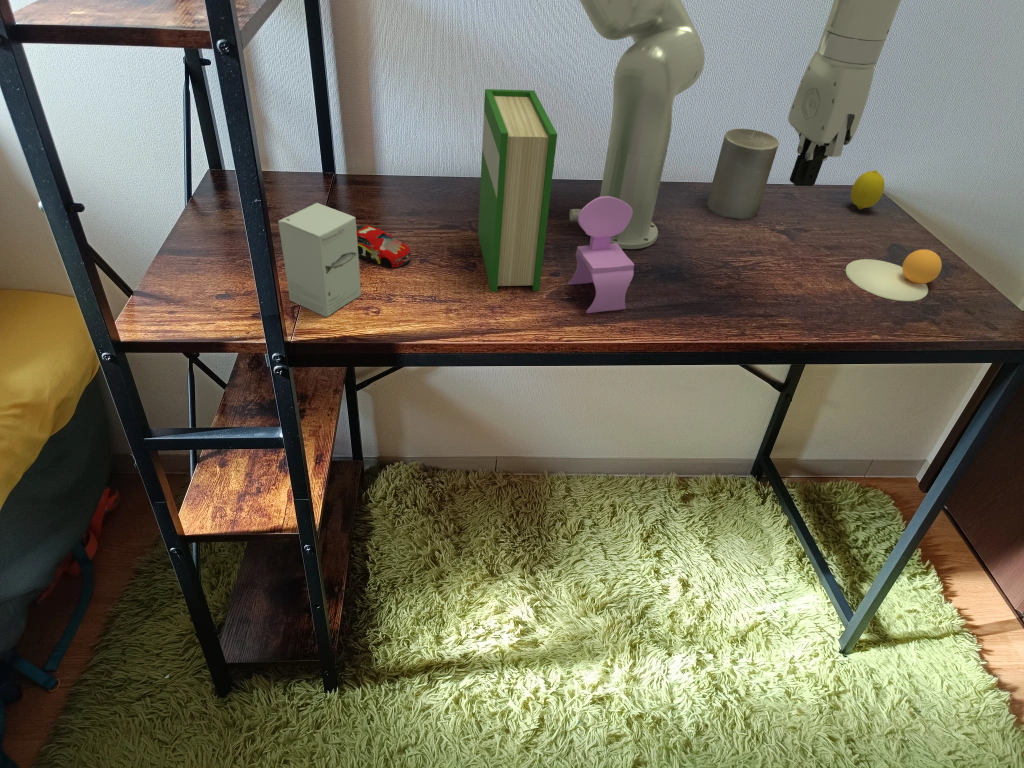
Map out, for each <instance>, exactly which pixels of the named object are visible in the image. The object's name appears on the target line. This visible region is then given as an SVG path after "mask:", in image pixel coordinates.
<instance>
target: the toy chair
mask: <svg viewBox="0 0 1024 768" xmlns="http://www.w3.org/2000/svg"><path fill="white" fill-rule="evenodd" d="M631 217H632V209H631V207H630V206H629V205H628V204H627V203H625V202H624V201H622V200H620V199H617V198H614V197H610V196H602V197H600V196H598V197H596V198H594V199H593V200H591V201H590V202H588V203H587V204H585V206H584V207H583V208H582V209H581V211H580V213H579V215H578V221H577V223H578V225H579V226H580V228H581V229H582V230H583V231H584V232H585V235H587V236H590V238H589V245H579V246H577V248H576V251H575V258H576V269H575V272H574V273H573V275H572V277H571V278H570V279H569V280H568V283H567V285H581V284H589V283H590V284H591V283H593V285H594V289H595V297H594V299H593V301H592V303H591V305H590V306H589V307H588V308H587V310H586V311H585V313H586V314H590V313H591V314H592V313H599V312H600V313H601V312H609V311H610V312H611V311H620V310H626V309H627V308H626V307H627V306H626V293H627V290H628V289H629V287H630V284H631V283H632V282H631V281H632V280H633V277H634V269H635V264H634V262H633V260H631V258H629V257H628V256H627V254H626V253H625V252H624V251H623V250H624V249H621V247H620V246H619V245H618V244H617V243H614V244H610V242H611V238H612V236H614V235H617V234H619V233H621V232H623V231H624V229H625V228H626V226H627V225H628V223H629V222H630V220H631Z"/></svg>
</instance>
